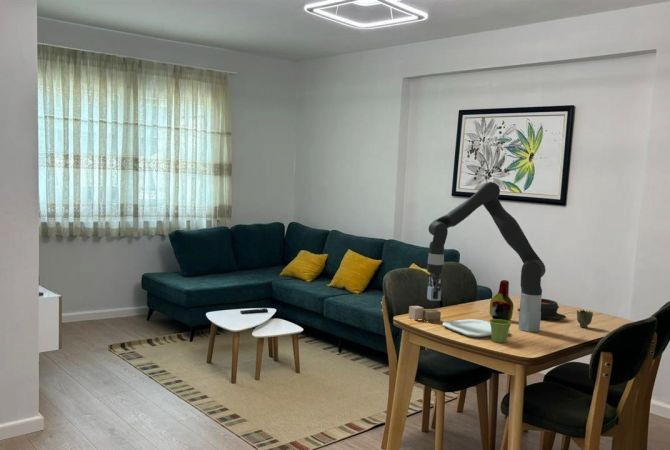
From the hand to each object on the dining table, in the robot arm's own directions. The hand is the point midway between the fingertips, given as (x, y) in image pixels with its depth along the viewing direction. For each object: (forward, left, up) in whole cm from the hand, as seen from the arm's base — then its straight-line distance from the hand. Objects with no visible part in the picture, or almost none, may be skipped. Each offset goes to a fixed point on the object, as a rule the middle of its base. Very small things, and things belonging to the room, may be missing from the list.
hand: (433, 297), depth 293 cm
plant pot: (-36, -17, -11) cm, 42 cm away
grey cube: (0, 0, -1) cm, 1 cm away
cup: (-13, -74, -11) cm, 76 cm away
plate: (-19, -14, -12) cm, 26 cm away
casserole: (+9, -64, -12) cm, 66 cm away
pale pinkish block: (+3, +7, -11) cm, 14 cm away
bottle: (+3, -38, -11) cm, 40 cm away
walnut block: (0, 0, -11) cm, 11 cm away
